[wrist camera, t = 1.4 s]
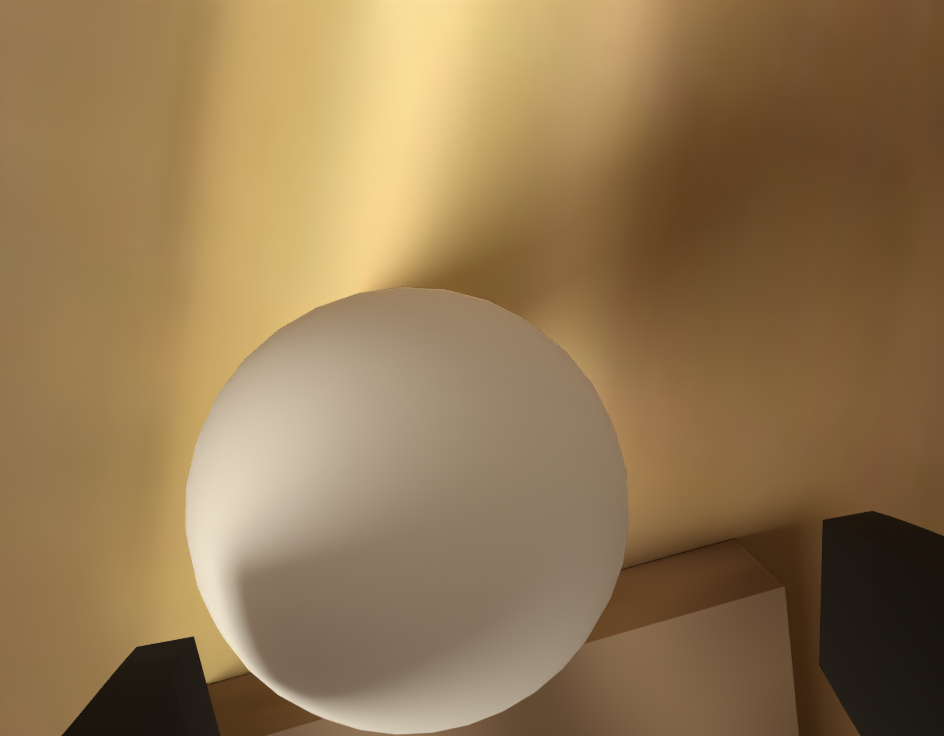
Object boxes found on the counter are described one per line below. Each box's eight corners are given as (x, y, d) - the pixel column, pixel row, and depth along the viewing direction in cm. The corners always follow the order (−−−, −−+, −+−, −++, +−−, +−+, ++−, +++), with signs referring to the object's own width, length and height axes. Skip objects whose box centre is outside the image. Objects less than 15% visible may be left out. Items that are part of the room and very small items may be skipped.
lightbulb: (400, 167, 19) (523, 225, 9) (548, 383, 21) (792, 641, 11) (170, 331, 19) (18, 587, 9) (340, 532, 21) (381, 934, 11)
